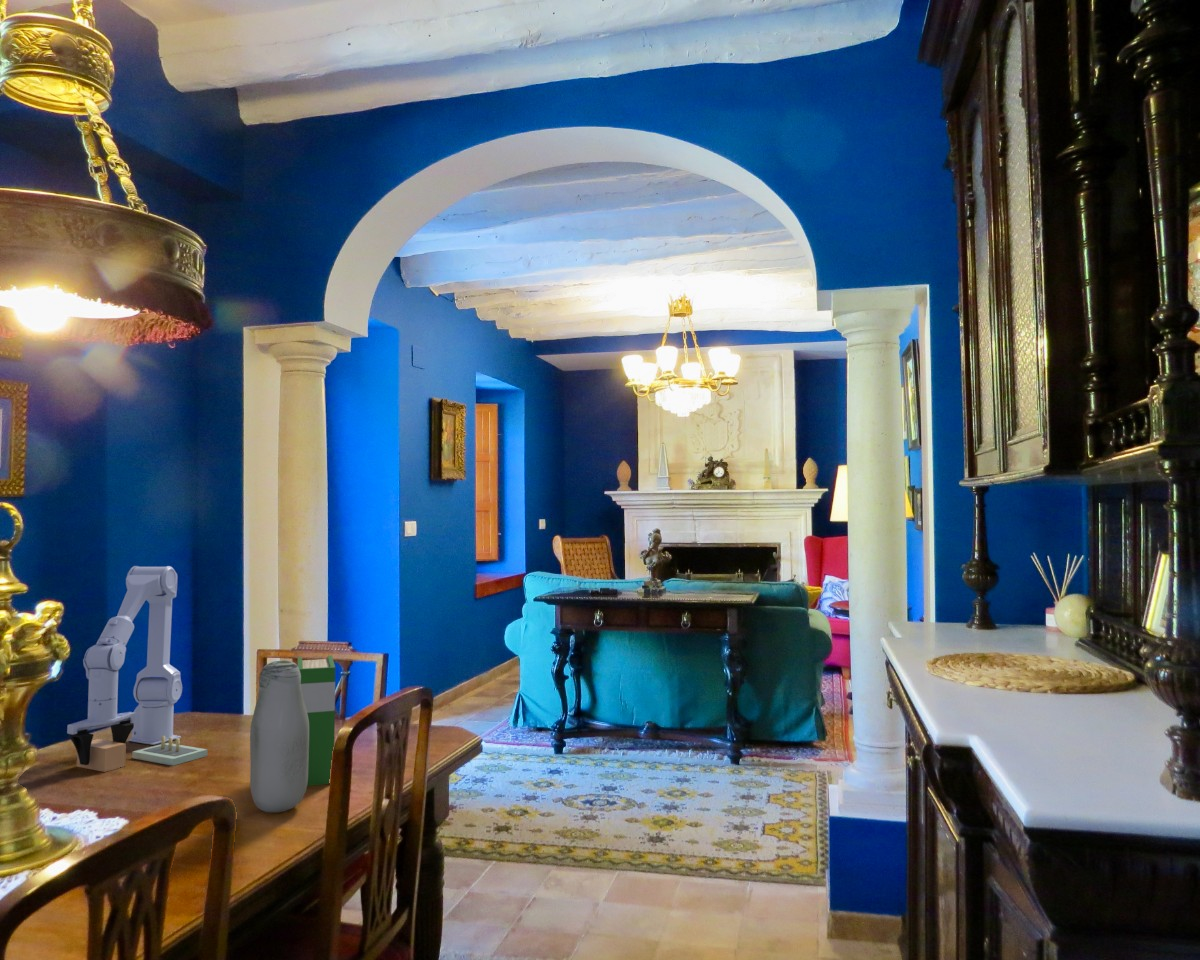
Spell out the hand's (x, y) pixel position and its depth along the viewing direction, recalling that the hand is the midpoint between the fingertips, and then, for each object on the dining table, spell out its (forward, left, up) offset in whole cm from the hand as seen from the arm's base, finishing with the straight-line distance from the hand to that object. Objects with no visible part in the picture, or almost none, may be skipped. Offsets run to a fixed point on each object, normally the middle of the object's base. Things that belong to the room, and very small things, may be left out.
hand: (101, 760), depth 191 cm
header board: (+7, +12, -1) cm, 14 cm away
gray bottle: (+59, -4, -2) cm, 59 cm away
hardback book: (+47, +17, -2) cm, 50 cm away
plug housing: (0, 0, -1) cm, 1 cm away
